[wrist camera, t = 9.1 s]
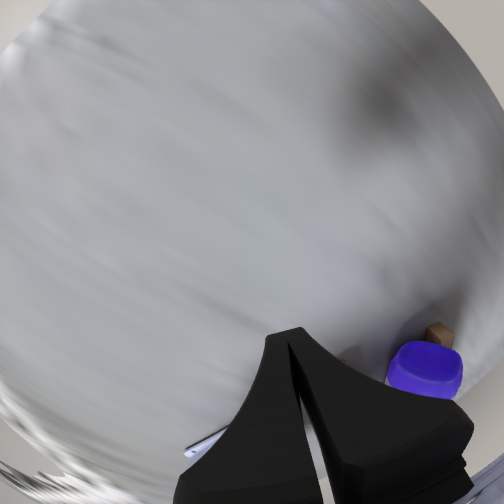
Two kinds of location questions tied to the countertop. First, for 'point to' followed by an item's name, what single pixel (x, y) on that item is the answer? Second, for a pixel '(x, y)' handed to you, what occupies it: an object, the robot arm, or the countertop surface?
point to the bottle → (426, 370)
